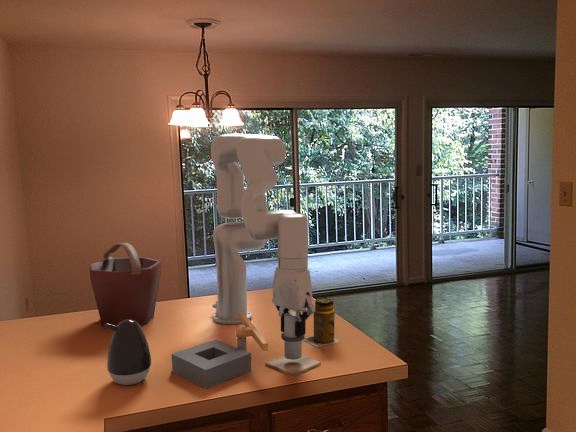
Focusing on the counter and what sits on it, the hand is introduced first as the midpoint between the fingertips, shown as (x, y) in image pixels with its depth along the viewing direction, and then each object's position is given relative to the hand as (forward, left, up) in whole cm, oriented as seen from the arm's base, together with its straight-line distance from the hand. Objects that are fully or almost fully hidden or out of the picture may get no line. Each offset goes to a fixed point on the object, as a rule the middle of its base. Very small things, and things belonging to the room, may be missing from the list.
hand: (293, 332), depth 135 cm
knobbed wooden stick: (-12, -6, -2) cm, 14 cm away
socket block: (-12, -14, -9) cm, 21 cm away
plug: (0, 0, -6) cm, 6 cm away
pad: (0, 0, -9) cm, 9 cm away
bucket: (-64, -11, -9) cm, 66 cm away
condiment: (-6, +18, -9) cm, 21 cm away
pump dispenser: (-22, -34, -9) cm, 41 cm away
